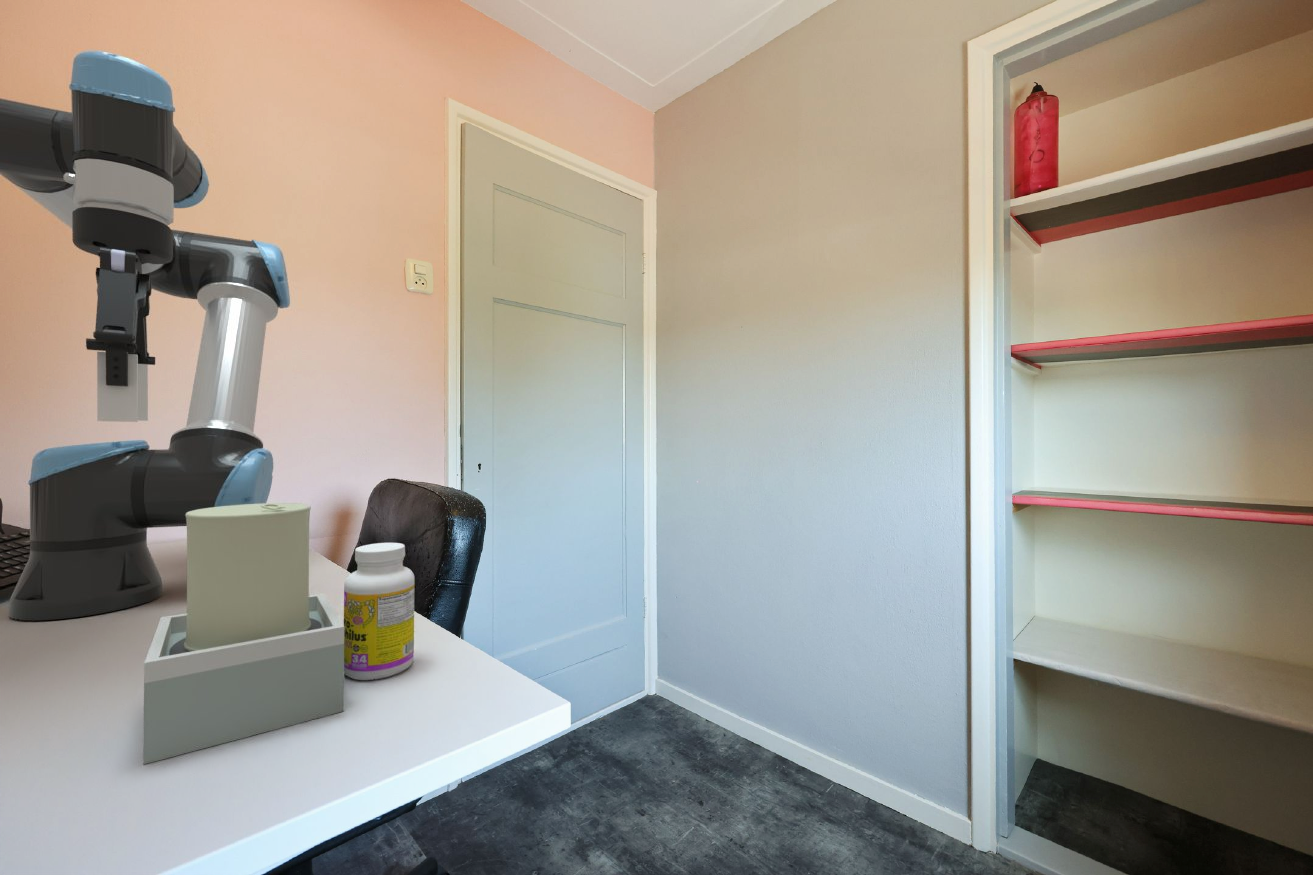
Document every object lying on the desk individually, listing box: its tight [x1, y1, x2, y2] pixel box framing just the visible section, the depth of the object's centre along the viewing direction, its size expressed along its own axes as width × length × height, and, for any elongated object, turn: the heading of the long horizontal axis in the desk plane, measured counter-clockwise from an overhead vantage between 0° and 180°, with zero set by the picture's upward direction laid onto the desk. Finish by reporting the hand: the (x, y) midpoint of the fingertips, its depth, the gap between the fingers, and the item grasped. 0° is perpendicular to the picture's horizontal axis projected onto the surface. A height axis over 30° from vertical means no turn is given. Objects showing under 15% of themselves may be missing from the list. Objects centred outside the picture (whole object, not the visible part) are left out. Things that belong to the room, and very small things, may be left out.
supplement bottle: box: [343, 542, 416, 681], centre depth 57 cm, size 7×7×13 cm
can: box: [184, 502, 311, 652], centre depth 50 cm, size 9×9×12 cm
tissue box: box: [142, 592, 345, 765], centre depth 49 cm, size 13×13×8 cm
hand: (125, 421), depth 57 cm, fingers open, 13 cm apart
